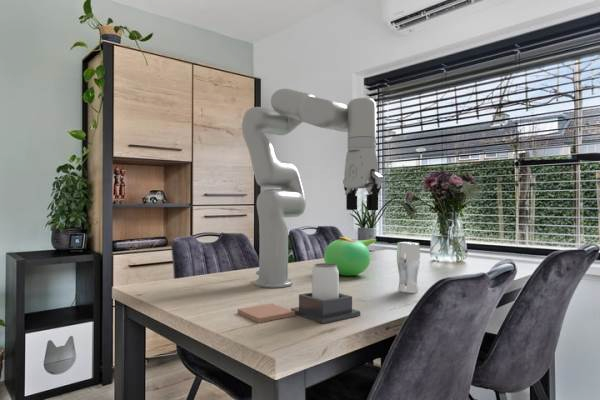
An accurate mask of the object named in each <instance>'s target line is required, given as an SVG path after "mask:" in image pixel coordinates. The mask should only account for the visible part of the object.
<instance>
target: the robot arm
mask: <svg viewBox="0 0 600 400" xmlns="http://www.w3.org/2000/svg"><path fill="white" fill-rule="evenodd" d="M270 105H271V107H272V108H268V107H262V106H254V107H250V108H248V109H247V110H246V111H245V112H244V115H243V117H242V121H241V133H242V137H243V139H244V143H245V145H246V147H247V149H248V152H249V156H250V162H251V165H252V169H253V174H254V177H255V182H256V184H257V185H258V186H260V187H262V188H268V189H264V190H263V191H261V192H260V193H258V195H257V199H256V209H257V215H258V223H259V226H258V227H259V228H258V229H259V232H258V234H259V253H258V254H259V259H258V260H259V261H258V262H259V269H258V270H256V272H255V274H256V275H258V279H257V278H256V279H255V280H253V281H254V283H253V284H254V285H255V286H257V287H260V288H269V289H271V288H272V289H273V288H274V289H275V288H286V287H290V286H292V285H293V280H292V279H290V278H289V230H288V229H289V228H288V227H287V226H288V225H287V224H286V222H285V219H284V218H298V217H300V216H302V215H304V214H303V213H304V212H305V210H306V206H307V205H306V203H307V202H306V197H305V196H306V195H305V193H304V188H303V184H302V180H301V177H300V173H299V170H298V168H297V167H296V166H295V164H294V163H292V162H290V161H287V160H286V161H284V160H279V159H278V158H277V156H276V153H275V152H276V151H275V148H274V146H273V144H272V142H271V140H269V138H268V137H267V136H266V135H265V134H267V135H269V134H270V135H275V136H286V135H288V134H290V133H291V132H293V131H294V130H295V129H296V128H297V127H298V126H300V125H301V124H302V123H305V124H307V125H311V126H315V127H316V128H317V127H318V128H322V129H327V130H333V131H339V132H343V133H347V152H346V155H345V161H344V162H345V164H344V178H343V180H342V184H343V189H344V191H345V192H344V193H345V194H344V195H345V196H346V197H345V198H346V199H345V200H346V201H345V202H346V204H345V205H346V207H345V208H346V210H347V211H356V210H358V195H357V192H358V191H359V189H365V190H366V191H367V193H368V194H366V211H379V195H380V194H381V191H380V190H381V189H382V184H383V181H384V176H383V175H381V174H380V173H379V162H378V153H377V103H376V101H375V100H374V99H373V98H371V97H357V98H353V99H351V100H350V101H349V102H348V103H347V104H346V103H342V102H339V101H334V100H330V99H329V100H328V99H324V98H320V97H316V96H315V95H314V94H312V93H306V92H302V91H298V90H294V89H291V88H280V89H276V91H275V92H273V94H272V95H271V97H270Z"/></svg>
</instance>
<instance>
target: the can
mask: <svg viewBox="0 0 600 400" xmlns="http://www.w3.org/2000/svg"><path fill="white" fill-rule="evenodd" d="M313 265H314V266H313V269H312V271H311V272H312V274H311V293H312V297H313V298H316V299H320V300H323V301H324V300H330V299H335V298H339V293H340V292H339V291H340V289H339V288H340V287H339V286H340V285H339V282H340V279H339V276H340V274H339V271H338V269H337V265H336V264H331V263H325V262H320V263H315V264H313Z"/></svg>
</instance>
